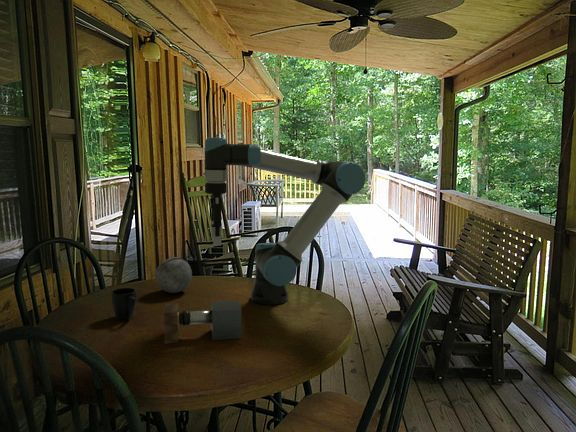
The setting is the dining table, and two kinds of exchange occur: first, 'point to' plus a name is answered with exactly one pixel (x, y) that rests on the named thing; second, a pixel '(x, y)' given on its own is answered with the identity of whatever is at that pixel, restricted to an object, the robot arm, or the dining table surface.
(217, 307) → the sleeve
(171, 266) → the decorative orb
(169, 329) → the socket
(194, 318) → the tube
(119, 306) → the mug
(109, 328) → the dining table surface
